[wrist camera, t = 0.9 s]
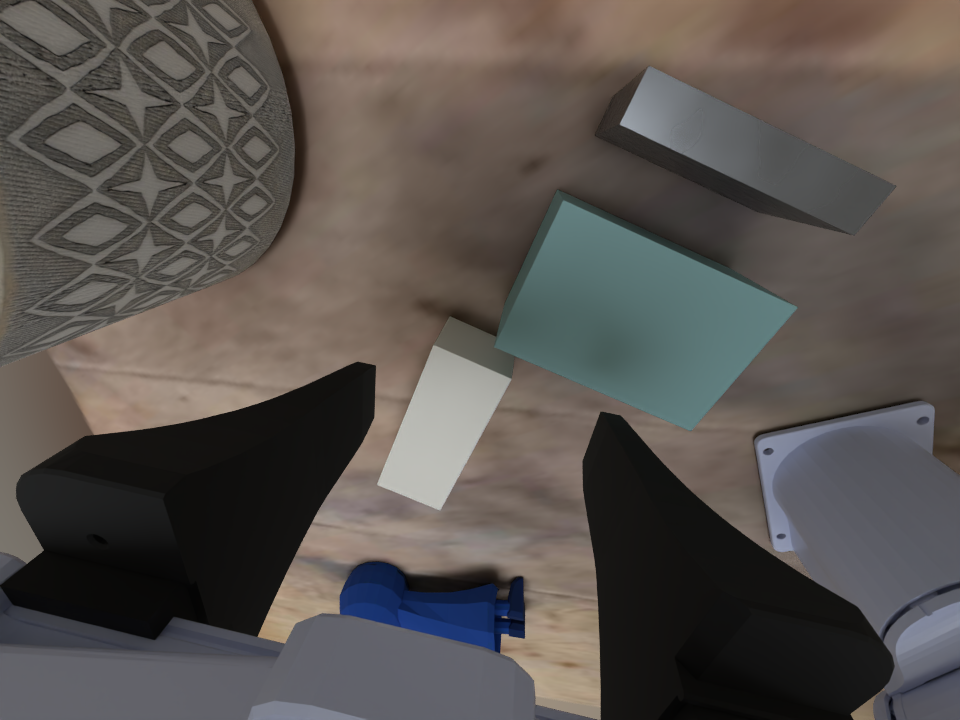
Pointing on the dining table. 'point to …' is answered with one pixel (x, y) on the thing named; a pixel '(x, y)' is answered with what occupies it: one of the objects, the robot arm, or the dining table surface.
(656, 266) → the block
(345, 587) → the toy
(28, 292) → the planter
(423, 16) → the dining table surface
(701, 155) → the wall
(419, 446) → the peg
